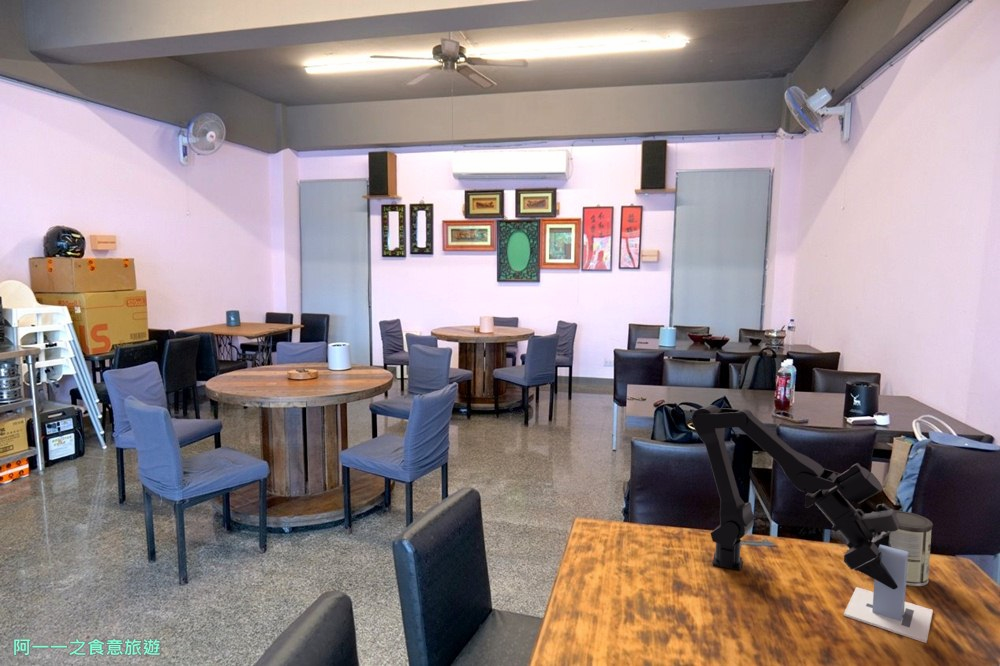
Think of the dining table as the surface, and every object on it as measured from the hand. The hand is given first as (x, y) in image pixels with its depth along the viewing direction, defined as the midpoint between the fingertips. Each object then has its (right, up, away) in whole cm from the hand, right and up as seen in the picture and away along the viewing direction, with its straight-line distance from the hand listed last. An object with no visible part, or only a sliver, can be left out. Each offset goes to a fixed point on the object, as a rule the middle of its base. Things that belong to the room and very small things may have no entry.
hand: (899, 579), depth 120 cm
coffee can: (+13, -7, +18) cm, 23 cm away
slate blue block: (-1, -7, +2) cm, 8 cm away
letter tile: (-1, -8, +2) cm, 8 cm away
